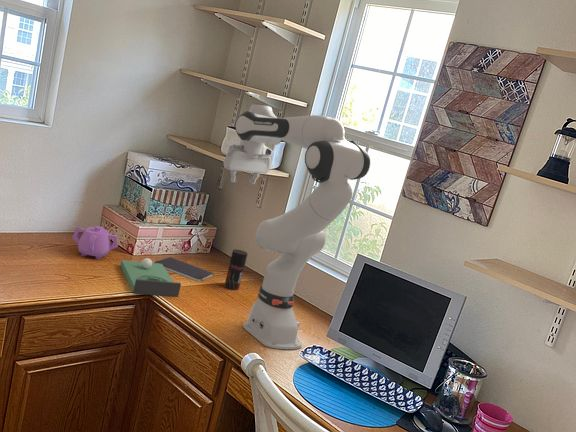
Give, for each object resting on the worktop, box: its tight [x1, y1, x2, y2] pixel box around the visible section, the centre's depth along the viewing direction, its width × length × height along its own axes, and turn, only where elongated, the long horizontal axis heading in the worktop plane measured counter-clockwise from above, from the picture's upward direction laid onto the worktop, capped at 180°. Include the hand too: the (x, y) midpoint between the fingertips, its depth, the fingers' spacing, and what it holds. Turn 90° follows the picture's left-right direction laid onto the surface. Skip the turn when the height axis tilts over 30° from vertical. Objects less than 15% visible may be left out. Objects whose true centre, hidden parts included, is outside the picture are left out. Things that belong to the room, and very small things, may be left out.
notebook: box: [154, 256, 214, 282], centre depth 244 cm, size 13×2×21 cm
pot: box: [71, 225, 119, 260], centre depth 233 cm, size 18×17×12 cm
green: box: [119, 259, 182, 298], centre depth 221 cm, size 27×16×5 cm, turn 26°
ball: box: [140, 257, 153, 269], centre depth 227 cm, size 4×4×4 cm
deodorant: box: [223, 249, 248, 291], centre depth 237 cm, size 6×6×15 cm
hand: (242, 182), depth 224 cm, fingers open, 8 cm apart
